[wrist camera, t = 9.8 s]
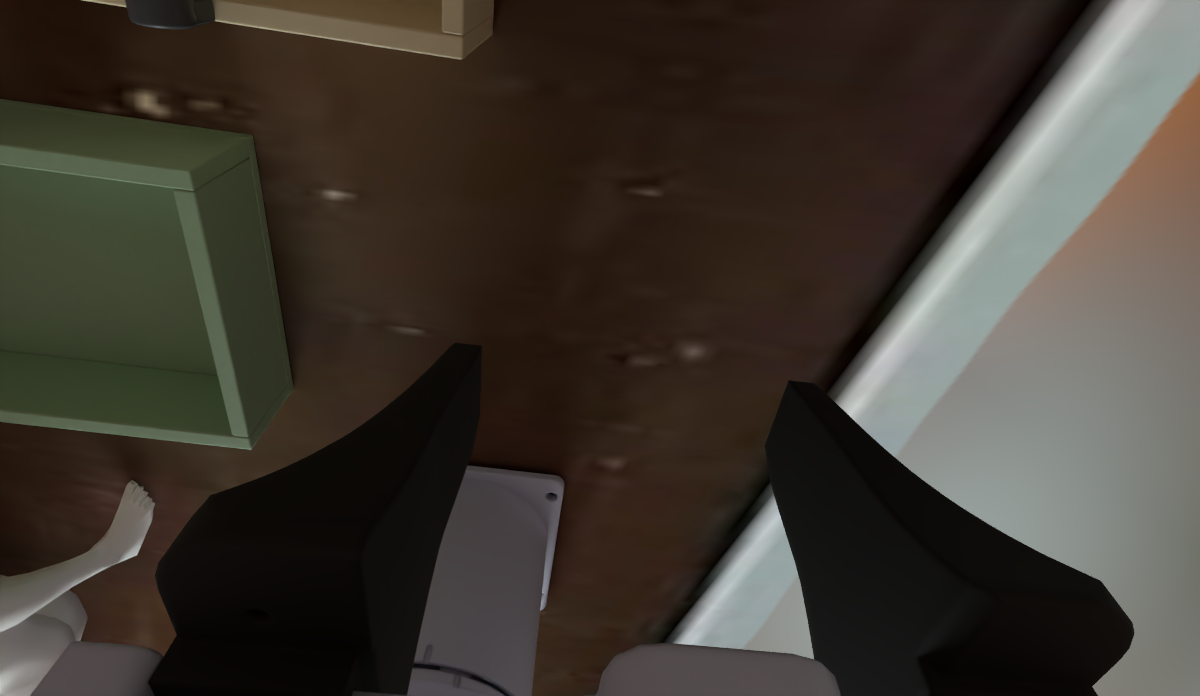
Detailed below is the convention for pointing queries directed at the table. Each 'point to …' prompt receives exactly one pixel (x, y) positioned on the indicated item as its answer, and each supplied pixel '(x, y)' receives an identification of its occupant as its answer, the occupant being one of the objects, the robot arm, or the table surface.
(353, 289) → the table surface
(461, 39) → the cream bin
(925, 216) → the table surface
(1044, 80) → the table surface
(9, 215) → the sage bin
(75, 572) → the person figurine
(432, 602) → the robot arm
